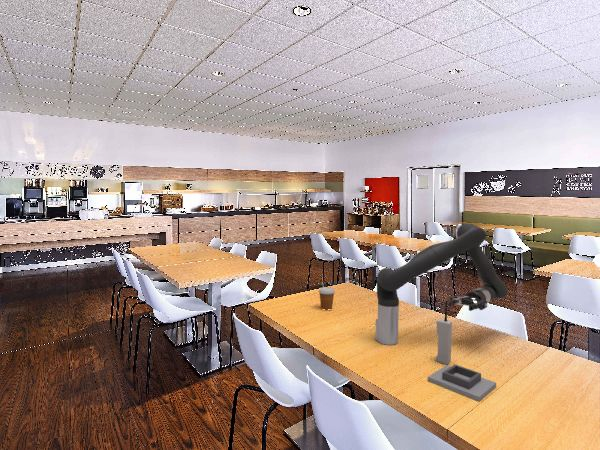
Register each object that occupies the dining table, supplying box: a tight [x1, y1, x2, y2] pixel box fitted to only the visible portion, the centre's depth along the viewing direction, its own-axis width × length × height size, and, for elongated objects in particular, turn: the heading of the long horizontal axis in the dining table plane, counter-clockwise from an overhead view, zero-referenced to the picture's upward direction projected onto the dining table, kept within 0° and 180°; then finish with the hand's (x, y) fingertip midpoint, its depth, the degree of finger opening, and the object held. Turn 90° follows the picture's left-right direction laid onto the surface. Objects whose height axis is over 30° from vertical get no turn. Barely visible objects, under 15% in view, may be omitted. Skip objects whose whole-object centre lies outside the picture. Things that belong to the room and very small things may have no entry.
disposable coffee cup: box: [318, 286, 336, 311], centre depth 217 cm, size 10×10×12 cm
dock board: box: [427, 363, 497, 402], centre depth 131 cm, size 18×14×4 cm
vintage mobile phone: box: [434, 300, 453, 365], centre depth 148 cm, size 4×5×25 cm
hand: (459, 306), depth 155 cm, fingers open, 8 cm apart
